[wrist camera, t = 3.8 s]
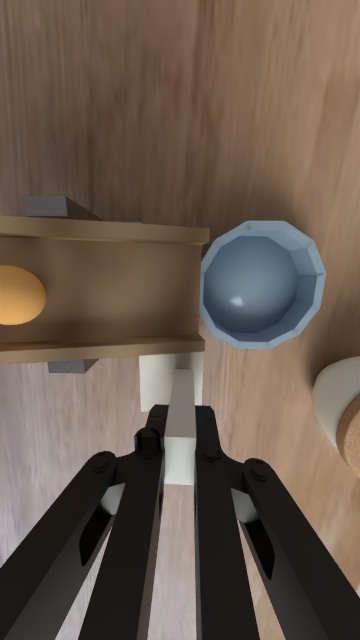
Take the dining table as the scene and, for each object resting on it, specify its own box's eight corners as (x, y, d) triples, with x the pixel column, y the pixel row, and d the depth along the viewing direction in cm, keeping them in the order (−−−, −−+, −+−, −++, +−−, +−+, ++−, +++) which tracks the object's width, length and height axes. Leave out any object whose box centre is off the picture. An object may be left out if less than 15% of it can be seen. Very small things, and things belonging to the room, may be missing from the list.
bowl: (192, 336, 22) (193, 347, 19) (195, 229, 20) (197, 220, 16) (292, 338, 22) (312, 350, 18) (309, 230, 19) (336, 221, 16)
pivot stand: (84, 337, 22) (17, 381, 14) (72, 222, 20) (-22, 181, 11) (145, 339, 22) (119, 384, 13) (142, 223, 20) (106, 181, 11)
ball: (-16, 336, 9) (59, 323, 12) (-32, 263, 8) (51, 266, 11) (-30, 325, 11) (37, 315, 13) (-45, 264, 10) (30, 266, 13)
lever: (-51, 425, 14) (-100, 463, 11) (-114, 219, 11) (-202, 200, 8) (198, 397, 18) (209, 422, 15) (204, 235, 15) (220, 226, 12)
